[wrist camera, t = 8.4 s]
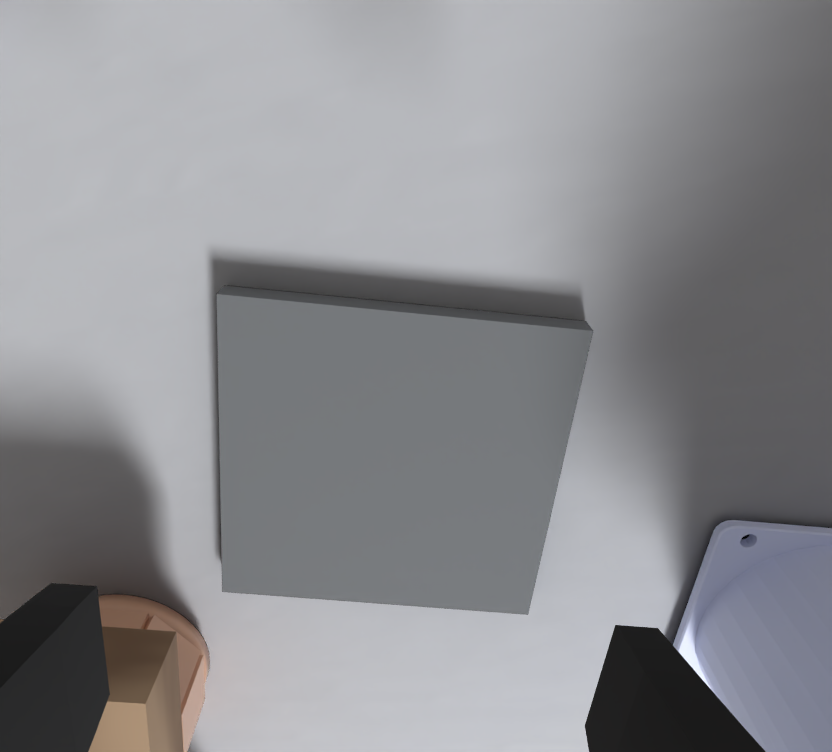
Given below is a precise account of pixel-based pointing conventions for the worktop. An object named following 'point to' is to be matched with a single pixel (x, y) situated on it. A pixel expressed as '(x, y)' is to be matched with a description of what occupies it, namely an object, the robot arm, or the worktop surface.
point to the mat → (390, 447)
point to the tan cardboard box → (140, 693)
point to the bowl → (189, 645)
